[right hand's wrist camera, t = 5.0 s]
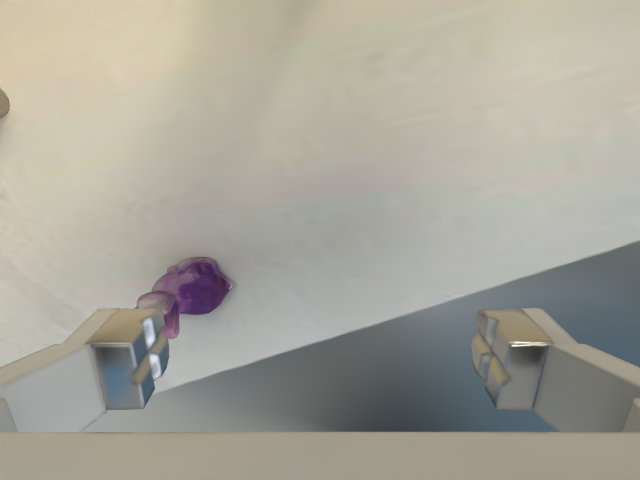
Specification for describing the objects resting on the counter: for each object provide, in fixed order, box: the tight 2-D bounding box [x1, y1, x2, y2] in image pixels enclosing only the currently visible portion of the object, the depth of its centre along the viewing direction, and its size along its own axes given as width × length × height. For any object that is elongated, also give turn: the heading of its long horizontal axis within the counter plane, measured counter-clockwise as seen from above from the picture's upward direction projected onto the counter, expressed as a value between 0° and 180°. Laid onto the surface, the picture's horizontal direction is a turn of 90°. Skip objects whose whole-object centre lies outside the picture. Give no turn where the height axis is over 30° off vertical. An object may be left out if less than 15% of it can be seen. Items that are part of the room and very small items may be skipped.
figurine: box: [134, 258, 233, 339], centre depth 56 cm, size 9×10×15 cm
